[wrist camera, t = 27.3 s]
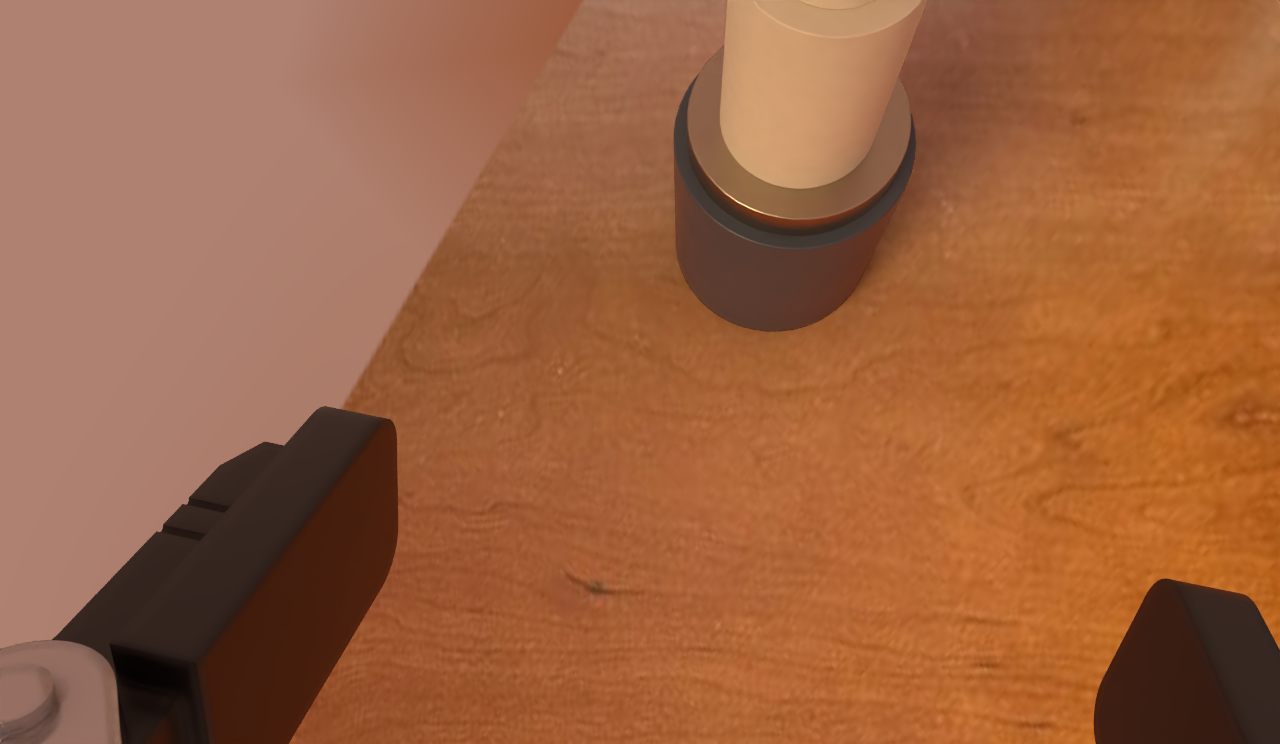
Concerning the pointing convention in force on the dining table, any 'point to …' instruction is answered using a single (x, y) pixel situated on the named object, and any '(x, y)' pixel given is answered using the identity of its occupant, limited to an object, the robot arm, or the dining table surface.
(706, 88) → the slate jar
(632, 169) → the dining table surface
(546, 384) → the dining table surface
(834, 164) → the cream bottle
